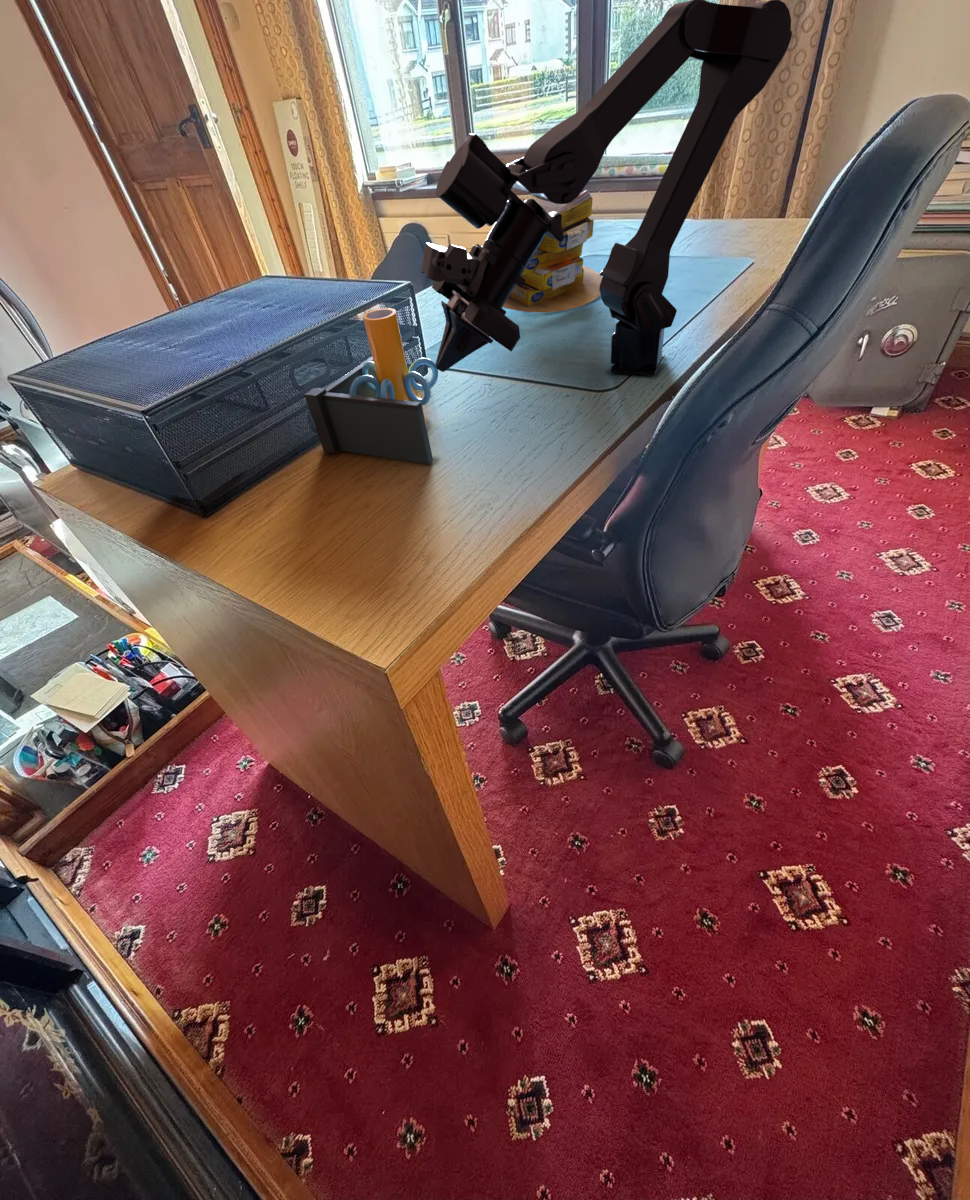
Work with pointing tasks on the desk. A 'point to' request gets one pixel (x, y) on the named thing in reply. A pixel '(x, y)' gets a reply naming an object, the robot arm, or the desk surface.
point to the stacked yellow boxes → (559, 264)
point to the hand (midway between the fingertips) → (438, 369)
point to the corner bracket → (368, 421)
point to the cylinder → (392, 362)
